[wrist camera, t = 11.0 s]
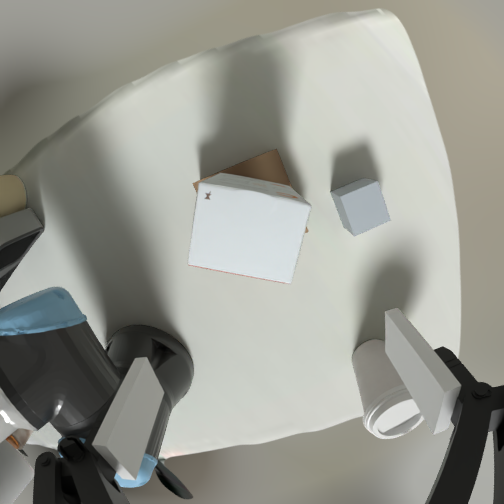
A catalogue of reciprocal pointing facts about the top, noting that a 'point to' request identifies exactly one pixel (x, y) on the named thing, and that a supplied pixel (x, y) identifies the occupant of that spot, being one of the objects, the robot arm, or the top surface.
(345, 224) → the grey cube
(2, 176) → the coffee cup
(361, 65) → the top surface
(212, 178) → the small box
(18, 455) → the lamp
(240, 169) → the walnut block
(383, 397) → the coffee cup
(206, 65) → the top surface
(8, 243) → the graphics card
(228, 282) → the top surface
